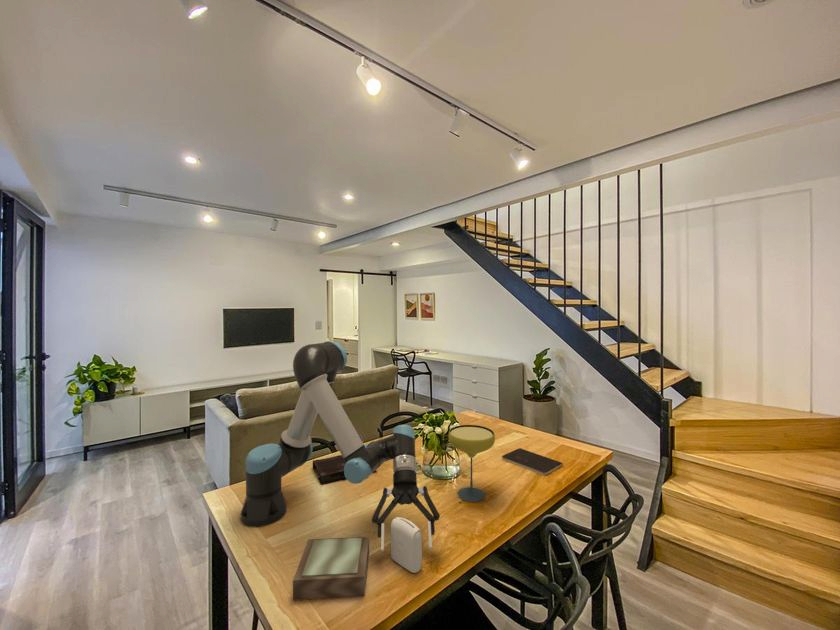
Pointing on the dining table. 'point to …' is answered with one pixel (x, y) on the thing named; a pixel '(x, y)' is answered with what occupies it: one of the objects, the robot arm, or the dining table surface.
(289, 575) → the dining table surface
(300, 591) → the block
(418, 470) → the handheld gaming device
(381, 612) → the dining table surface
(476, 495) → the cocktail glass
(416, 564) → the photo printer
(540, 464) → the hardcover book
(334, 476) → the diary
